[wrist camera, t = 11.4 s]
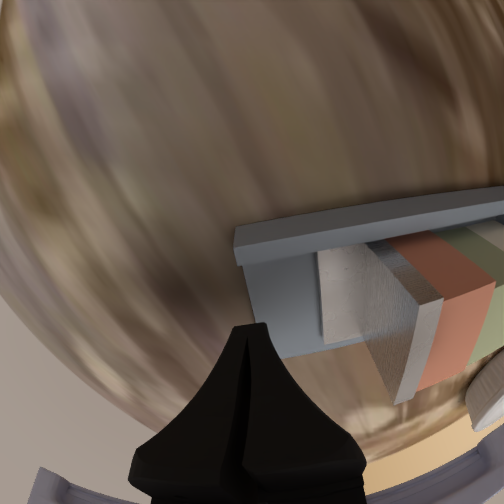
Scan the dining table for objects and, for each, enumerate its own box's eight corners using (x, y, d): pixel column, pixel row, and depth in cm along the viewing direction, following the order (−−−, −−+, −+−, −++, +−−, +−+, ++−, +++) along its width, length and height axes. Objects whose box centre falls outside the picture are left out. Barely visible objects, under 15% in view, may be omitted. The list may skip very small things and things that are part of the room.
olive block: (464, 226, 12) (530, 271, 7) (454, 291, 14) (503, 345, 9) (426, 234, 12) (494, 288, 7) (418, 303, 14) (465, 366, 9)
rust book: (426, 228, 12) (496, 281, 7) (418, 307, 14) (464, 370, 9) (377, 238, 12) (441, 302, 7) (374, 319, 14) (413, 392, 9)
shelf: (505, 185, 12) (569, 215, 6) (490, 287, 15) (535, 331, 10) (235, 226, 13) (226, 299, 7) (264, 349, 16) (270, 434, 11)
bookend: (378, 234, 12) (443, 297, 7) (374, 325, 14) (412, 398, 9) (314, 246, 12) (354, 323, 7) (321, 337, 14) (345, 419, 9)
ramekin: (526, 319, 17) (550, 346, 13) (516, 364, 21) (533, 388, 16) (456, 381, 20) (477, 416, 15) (458, 412, 24) (471, 440, 19)
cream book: (494, 219, 12) (554, 258, 7) (483, 281, 14) (531, 326, 8) (464, 226, 12) (530, 271, 7) (454, 291, 14) (503, 345, 9)
